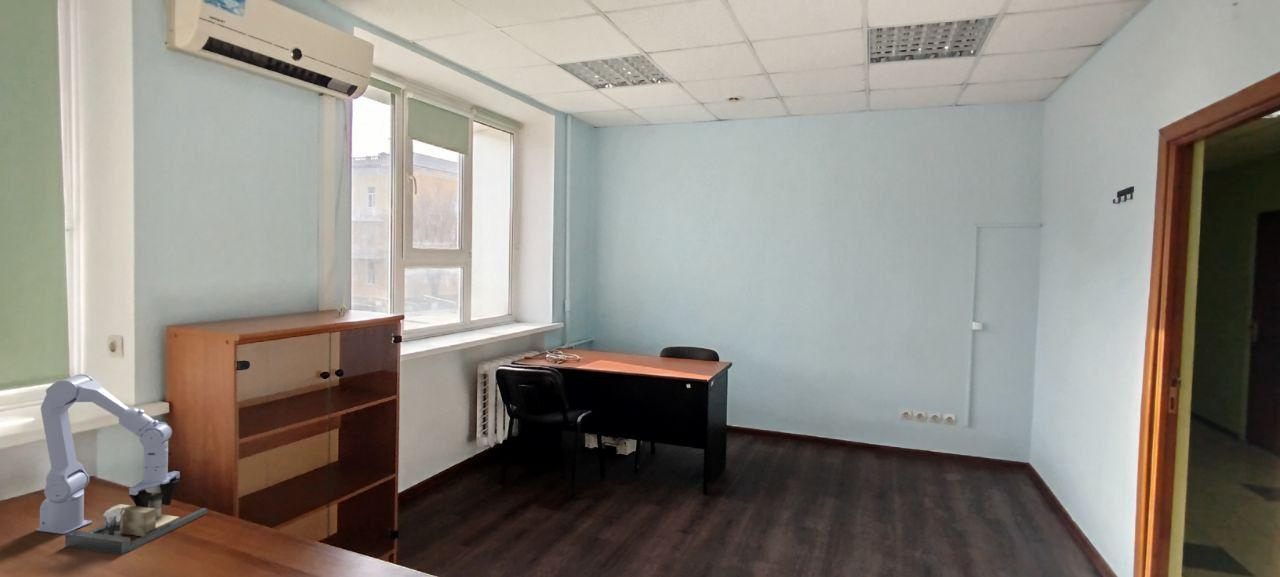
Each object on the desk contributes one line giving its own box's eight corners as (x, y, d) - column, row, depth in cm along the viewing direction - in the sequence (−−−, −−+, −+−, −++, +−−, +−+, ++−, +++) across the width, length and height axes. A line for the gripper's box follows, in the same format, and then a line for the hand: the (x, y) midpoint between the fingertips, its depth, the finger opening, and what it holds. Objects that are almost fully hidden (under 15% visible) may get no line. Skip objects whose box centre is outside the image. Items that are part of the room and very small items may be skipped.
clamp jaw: (108, 531, 176) (109, 504, 175) (144, 516, 187) (145, 489, 186) (145, 536, 174) (146, 508, 174) (179, 520, 185) (180, 494, 185)
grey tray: (65, 547, 167) (65, 534, 166) (157, 506, 194) (157, 495, 194) (121, 554, 164) (121, 541, 164) (207, 513, 192) (207, 502, 191)
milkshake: (114, 546, 169) (114, 510, 168) (98, 543, 170) (99, 508, 169) (131, 538, 173) (131, 504, 173) (115, 536, 174) (116, 501, 174)
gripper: (144, 474, 175) (143, 521, 175) (188, 458, 189) (187, 501, 190) (123, 472, 176) (122, 518, 176) (168, 456, 190) (167, 499, 191)
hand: (154, 509), depth 183 cm, fingers open, 7 cm apart
